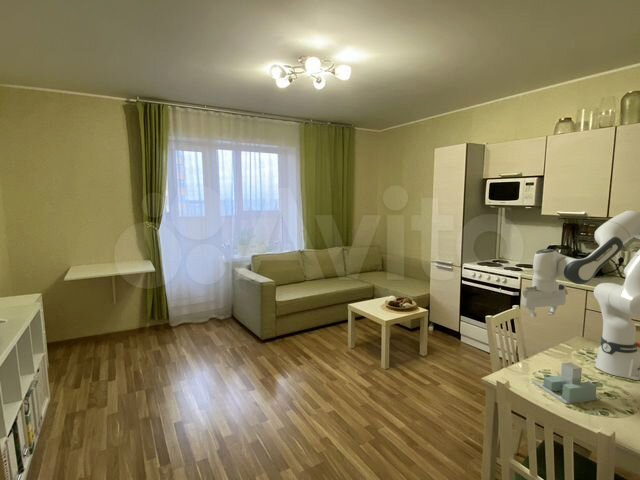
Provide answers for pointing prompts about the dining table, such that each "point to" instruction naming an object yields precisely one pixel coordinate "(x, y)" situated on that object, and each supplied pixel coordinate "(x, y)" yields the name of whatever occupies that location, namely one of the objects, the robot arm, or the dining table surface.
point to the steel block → (570, 374)
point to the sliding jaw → (552, 383)
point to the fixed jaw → (574, 392)
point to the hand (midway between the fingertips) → (542, 315)
